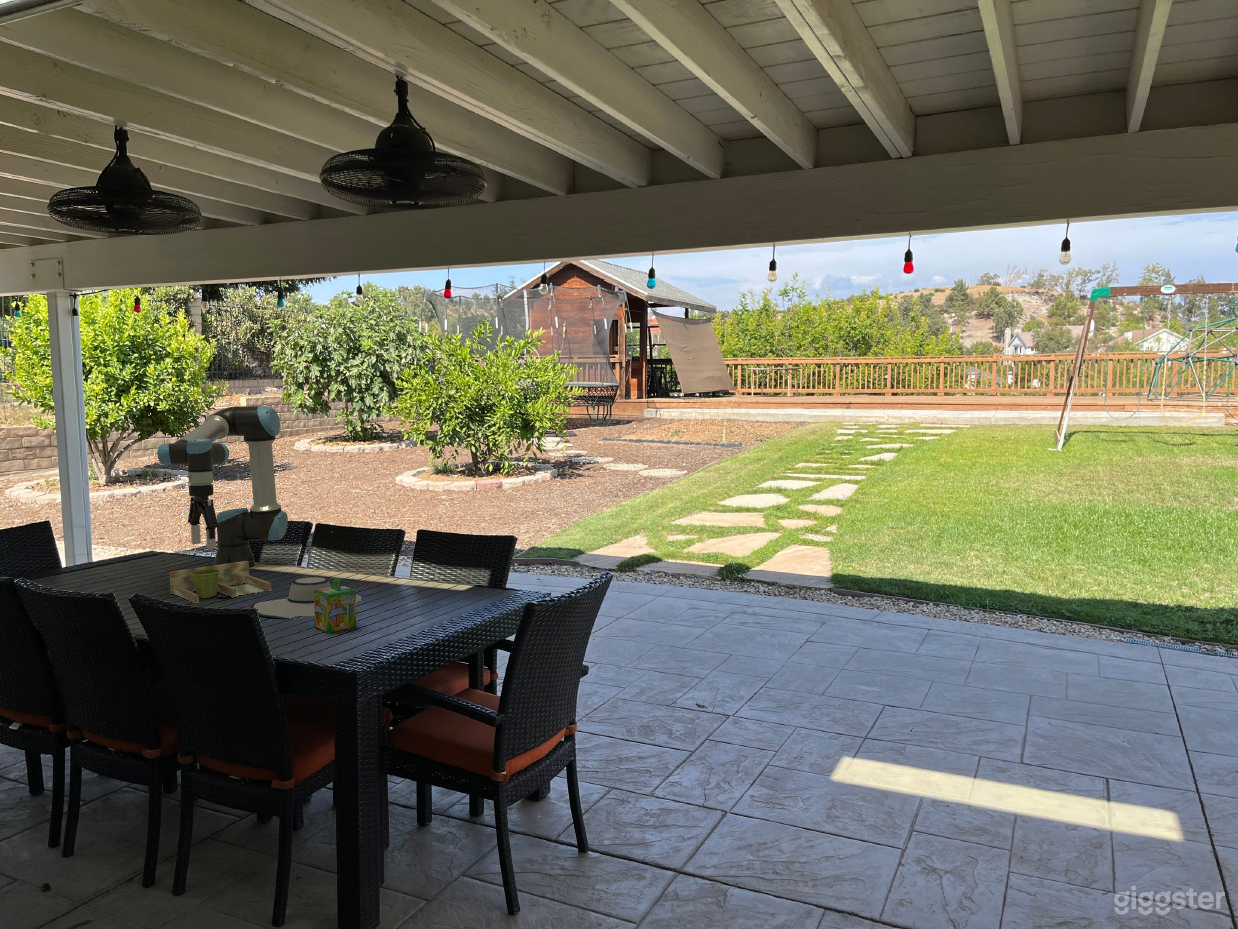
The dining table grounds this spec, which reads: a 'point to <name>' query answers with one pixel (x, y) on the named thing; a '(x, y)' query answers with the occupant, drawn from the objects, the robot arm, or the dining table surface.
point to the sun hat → (295, 600)
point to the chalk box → (335, 607)
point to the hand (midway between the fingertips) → (203, 546)
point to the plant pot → (205, 582)
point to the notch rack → (219, 581)
